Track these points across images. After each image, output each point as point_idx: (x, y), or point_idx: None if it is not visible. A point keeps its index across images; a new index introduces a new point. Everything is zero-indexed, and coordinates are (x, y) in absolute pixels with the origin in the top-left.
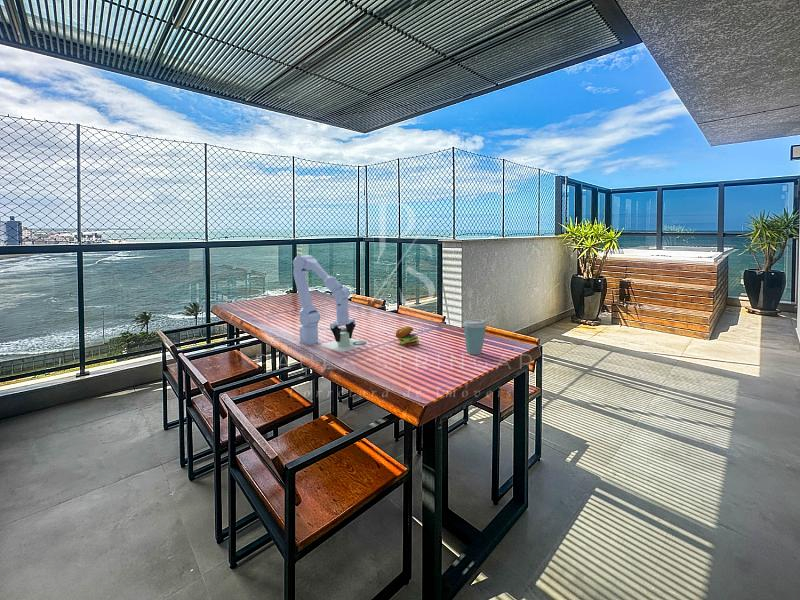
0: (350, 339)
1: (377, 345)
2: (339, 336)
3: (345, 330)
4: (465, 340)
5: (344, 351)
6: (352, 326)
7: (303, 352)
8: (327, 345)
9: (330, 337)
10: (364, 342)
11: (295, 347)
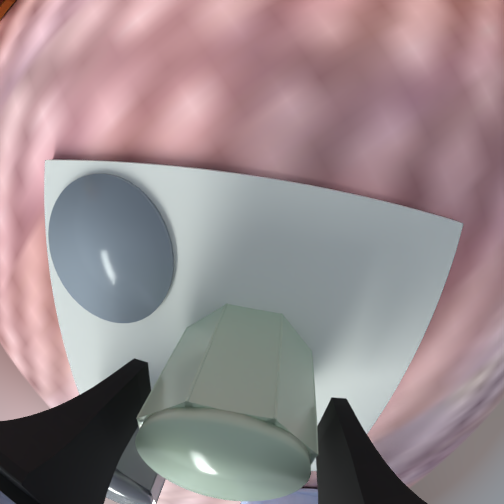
0: (94, 381)
1: (60, 80)
2: (353, 447)
3: None
4: None
5: (438, 215)
6: (38, 465)
7: (463, 436)
8: None
9: None
10: (69, 217)
11: None
